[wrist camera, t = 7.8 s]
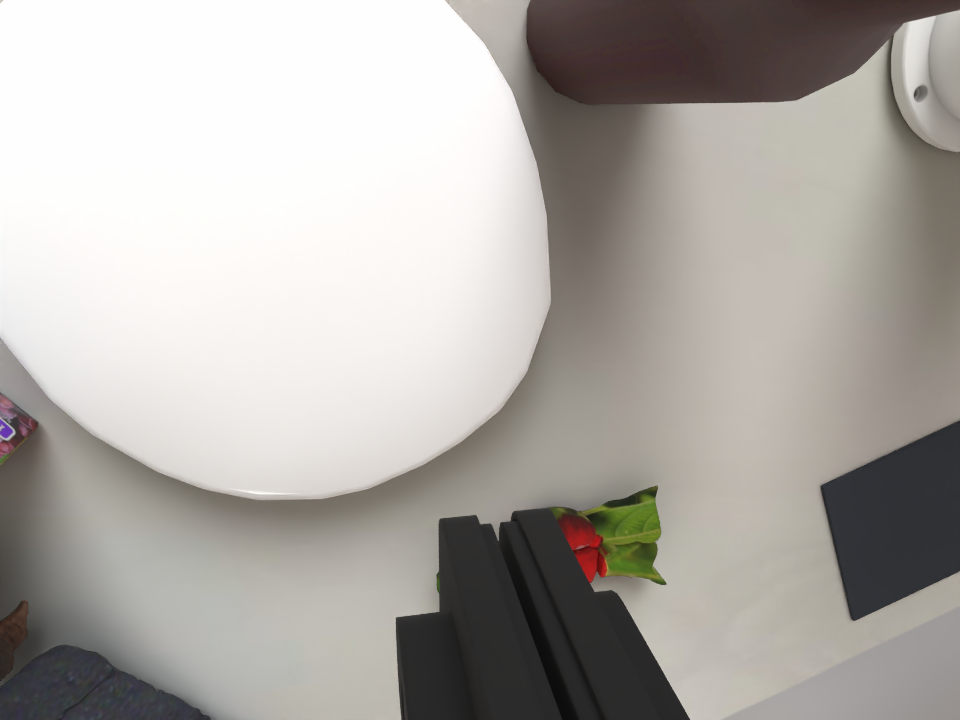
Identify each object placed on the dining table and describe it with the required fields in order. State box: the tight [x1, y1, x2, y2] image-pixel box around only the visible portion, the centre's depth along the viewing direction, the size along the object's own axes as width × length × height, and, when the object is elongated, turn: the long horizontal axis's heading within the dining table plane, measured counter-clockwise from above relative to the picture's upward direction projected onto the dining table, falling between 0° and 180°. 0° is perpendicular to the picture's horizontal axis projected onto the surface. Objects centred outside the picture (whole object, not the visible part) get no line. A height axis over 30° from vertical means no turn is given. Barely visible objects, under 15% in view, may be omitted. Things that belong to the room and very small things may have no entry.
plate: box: [0, 0, 551, 500], centre depth 32 cm, size 28×6×27 cm
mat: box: [821, 421, 960, 621], centre depth 50 cm, size 18×14×1 cm
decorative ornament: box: [437, 486, 666, 593], centre depth 43 cm, size 15×5×10 cm
